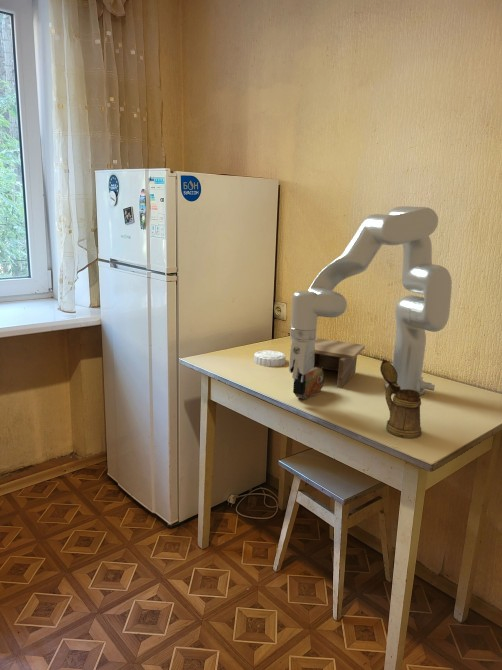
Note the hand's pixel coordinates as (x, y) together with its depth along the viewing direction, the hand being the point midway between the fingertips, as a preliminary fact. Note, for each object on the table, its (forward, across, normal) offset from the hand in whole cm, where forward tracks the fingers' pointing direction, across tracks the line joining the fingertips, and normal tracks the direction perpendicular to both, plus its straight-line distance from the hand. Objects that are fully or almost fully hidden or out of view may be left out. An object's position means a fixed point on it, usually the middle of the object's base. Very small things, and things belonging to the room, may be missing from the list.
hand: (299, 393), depth 153 cm
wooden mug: (+4, -3, -29) cm, 30 cm away
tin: (+4, +9, 0) cm, 10 cm away
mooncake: (+4, +36, +24) cm, 44 cm away
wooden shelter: (+4, +31, 0) cm, 31 cm away
